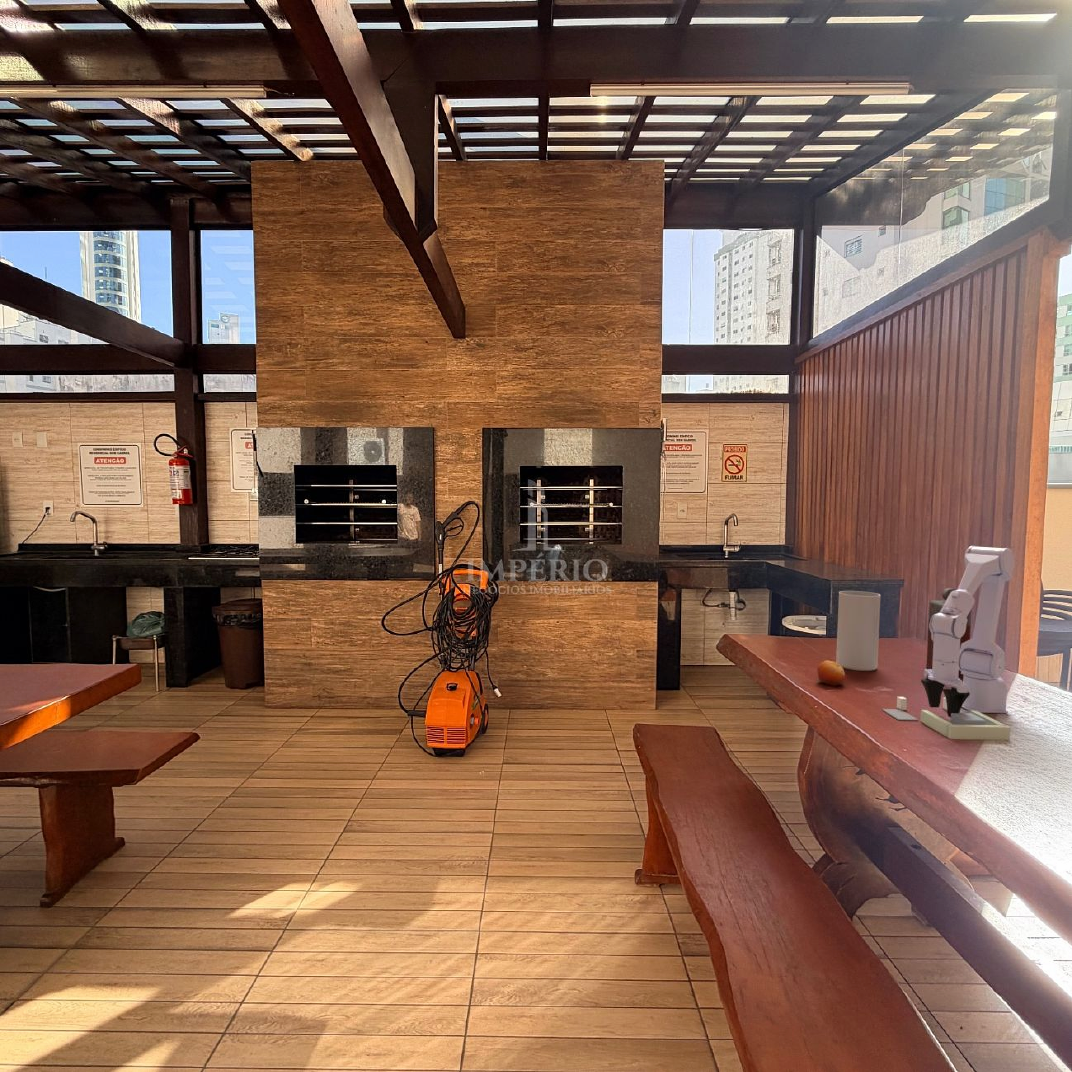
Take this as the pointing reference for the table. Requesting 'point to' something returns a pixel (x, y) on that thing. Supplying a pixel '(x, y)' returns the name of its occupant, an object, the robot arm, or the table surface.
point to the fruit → (830, 673)
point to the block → (966, 719)
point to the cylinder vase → (858, 630)
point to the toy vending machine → (933, 609)
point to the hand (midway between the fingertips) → (943, 711)
